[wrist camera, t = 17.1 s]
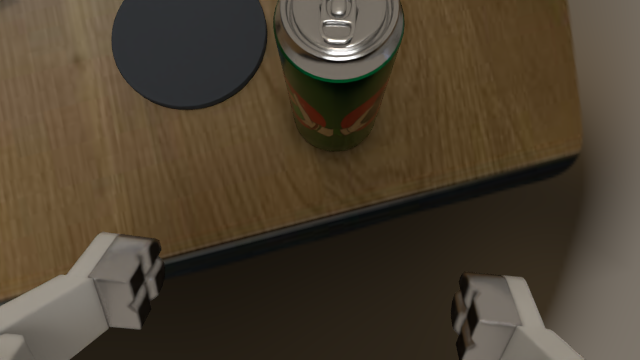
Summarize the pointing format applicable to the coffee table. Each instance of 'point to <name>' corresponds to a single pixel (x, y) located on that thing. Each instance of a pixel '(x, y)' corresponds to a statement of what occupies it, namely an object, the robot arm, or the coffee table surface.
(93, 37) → the coffee table surface
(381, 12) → the soda can
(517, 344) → the robot arm
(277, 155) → the coffee table surface
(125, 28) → the coaster
